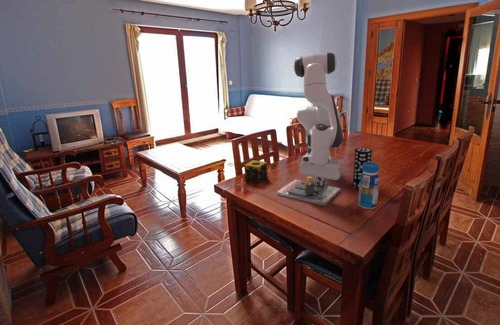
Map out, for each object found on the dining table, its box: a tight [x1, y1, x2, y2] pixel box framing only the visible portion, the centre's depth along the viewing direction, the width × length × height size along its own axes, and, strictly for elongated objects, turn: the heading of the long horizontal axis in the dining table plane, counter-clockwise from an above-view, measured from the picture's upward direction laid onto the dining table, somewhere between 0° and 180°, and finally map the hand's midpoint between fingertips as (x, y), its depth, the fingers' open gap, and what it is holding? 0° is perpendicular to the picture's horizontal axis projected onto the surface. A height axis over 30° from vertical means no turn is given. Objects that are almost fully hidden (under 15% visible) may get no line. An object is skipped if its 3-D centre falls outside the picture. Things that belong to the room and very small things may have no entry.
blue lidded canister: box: [357, 161, 381, 210], centre depth 130 cm, size 8×8×20 cm
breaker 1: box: [304, 175, 313, 188], centre depth 148 cm, size 4×2×5 cm
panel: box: [276, 179, 341, 207], centre depth 150 cm, size 20×26×3 cm
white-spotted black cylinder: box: [352, 147, 373, 190], centre depth 152 cm, size 8×8×20 cm
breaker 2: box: [306, 182, 314, 195], centre depth 141 cm, size 4×2×5 cm
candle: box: [244, 159, 268, 184], centre depth 171 cm, size 10×10×10 cm
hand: (319, 184), depth 145 cm, fingers closed
